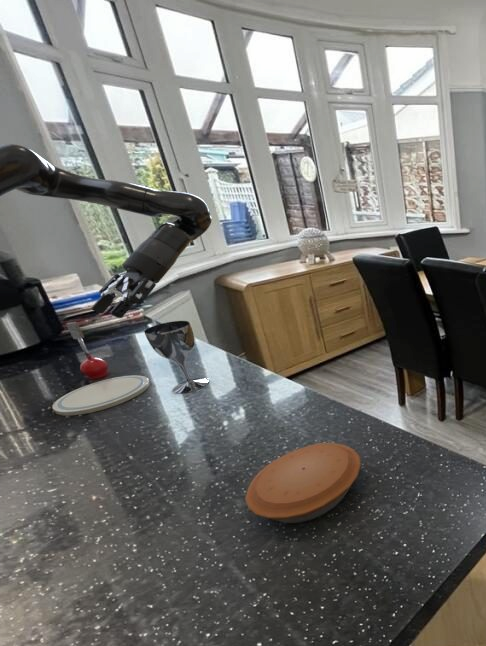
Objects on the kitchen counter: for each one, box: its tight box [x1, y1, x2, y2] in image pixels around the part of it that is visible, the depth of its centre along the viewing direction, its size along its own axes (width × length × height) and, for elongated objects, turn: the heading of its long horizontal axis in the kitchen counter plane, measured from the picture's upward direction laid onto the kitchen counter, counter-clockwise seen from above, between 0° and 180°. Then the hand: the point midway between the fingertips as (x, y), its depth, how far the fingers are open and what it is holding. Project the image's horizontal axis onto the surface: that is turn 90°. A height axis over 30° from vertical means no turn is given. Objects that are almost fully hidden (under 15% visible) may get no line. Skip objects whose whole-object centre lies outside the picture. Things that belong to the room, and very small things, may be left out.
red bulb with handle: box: [65, 321, 109, 381], centre depth 96 cm, size 5×5×14 cm
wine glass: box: [143, 320, 210, 394], centre depth 90 cm, size 8×8×15 cm
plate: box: [51, 374, 151, 417], centre depth 90 cm, size 16×16×1 cm
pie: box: [244, 442, 362, 524], centre depth 59 cm, size 15×16×5 cm
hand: (105, 313), depth 92 cm, fingers open, 8 cm apart
